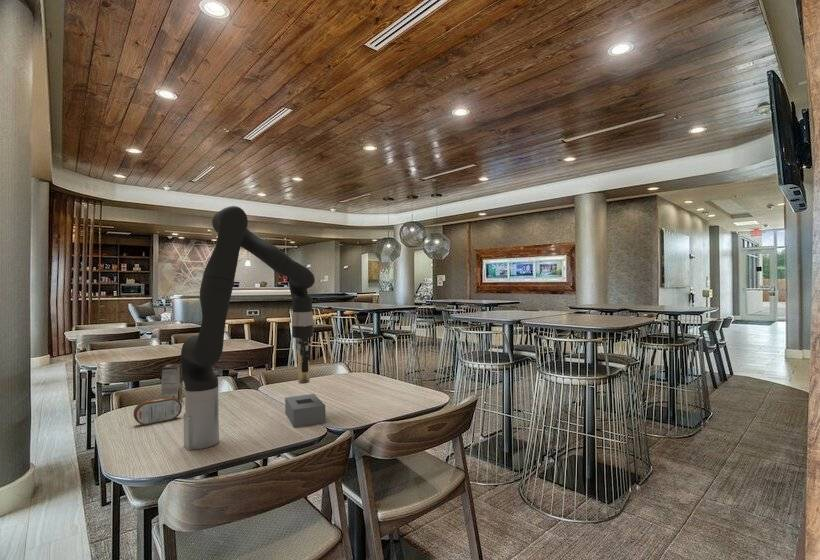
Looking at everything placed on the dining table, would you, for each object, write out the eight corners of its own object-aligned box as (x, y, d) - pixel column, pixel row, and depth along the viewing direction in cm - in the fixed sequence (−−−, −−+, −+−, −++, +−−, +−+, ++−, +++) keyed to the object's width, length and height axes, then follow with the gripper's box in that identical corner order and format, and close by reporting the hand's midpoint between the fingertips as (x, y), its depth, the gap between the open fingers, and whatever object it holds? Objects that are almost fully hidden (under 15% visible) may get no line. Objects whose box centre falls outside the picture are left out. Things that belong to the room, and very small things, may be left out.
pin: (301, 384, 151) (300, 350, 151) (296, 382, 154) (295, 349, 154) (311, 382, 153) (310, 349, 154) (306, 380, 157) (305, 348, 157)
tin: (181, 416, 158) (180, 394, 158) (182, 418, 156) (182, 396, 156) (133, 425, 149) (133, 402, 149) (134, 428, 146) (134, 403, 146)
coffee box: (166, 401, 180) (166, 364, 180) (183, 400, 181) (182, 362, 182) (160, 407, 171) (160, 367, 171) (178, 405, 173) (178, 366, 173)
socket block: (325, 422, 148) (325, 405, 148) (293, 427, 143) (293, 409, 143) (314, 409, 164) (314, 393, 164) (285, 413, 159) (285, 397, 159)
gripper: (288, 323, 159) (290, 368, 159) (295, 326, 146) (296, 375, 146) (308, 322, 162) (309, 366, 162) (317, 325, 149) (318, 373, 149)
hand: (303, 370), depth 154 cm, fingers closed on pin, 4 cm apart
